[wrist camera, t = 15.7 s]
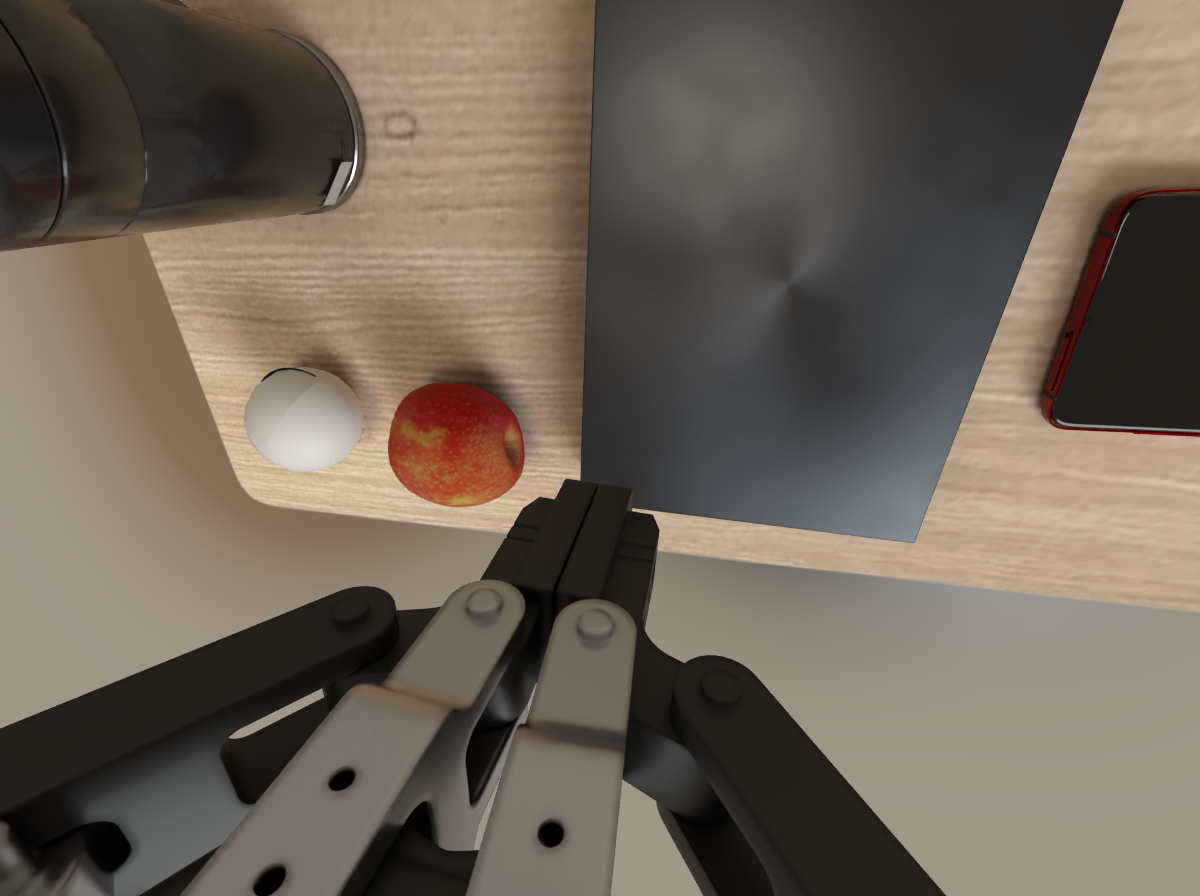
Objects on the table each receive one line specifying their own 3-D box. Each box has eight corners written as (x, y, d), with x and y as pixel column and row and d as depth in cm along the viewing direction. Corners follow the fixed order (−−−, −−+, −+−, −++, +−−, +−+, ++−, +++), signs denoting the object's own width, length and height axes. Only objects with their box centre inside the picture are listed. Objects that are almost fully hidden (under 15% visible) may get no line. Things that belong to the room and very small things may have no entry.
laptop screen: (582, 494, 37) (579, 501, 37) (602, -106, 23) (599, -116, 23) (909, 535, 35) (914, 543, 34) (1153, -109, 21) (1171, -120, 20)
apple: (430, 356, 39) (363, 399, 32) (545, 382, 38) (502, 433, 31) (430, 454, 42) (370, 512, 36) (534, 480, 41) (494, 545, 35)
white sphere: (374, 356, 40) (305, 394, 33) (390, 448, 43) (330, 498, 37) (252, 344, 41) (164, 377, 35) (277, 433, 45) (201, 478, 38)
